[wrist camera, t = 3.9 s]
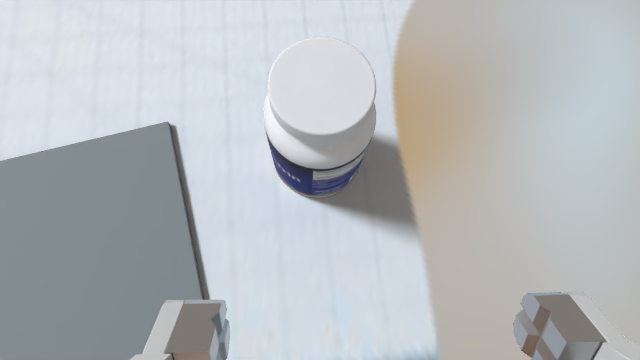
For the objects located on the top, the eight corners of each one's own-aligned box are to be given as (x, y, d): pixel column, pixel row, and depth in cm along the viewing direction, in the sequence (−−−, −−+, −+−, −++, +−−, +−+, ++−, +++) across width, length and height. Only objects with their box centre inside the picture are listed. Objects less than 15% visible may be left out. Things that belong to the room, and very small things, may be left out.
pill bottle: (260, 138, 26) (234, 51, 16) (336, 107, 27) (352, 7, 17) (295, 214, 25) (288, 167, 15) (373, 178, 25) (413, 113, 16)
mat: (210, 335, 22) (209, 336, 22) (-4, 399, 21) (-10, 401, 21) (169, 124, 26) (167, 121, 26) (-16, 167, 25) (-21, 166, 24)
